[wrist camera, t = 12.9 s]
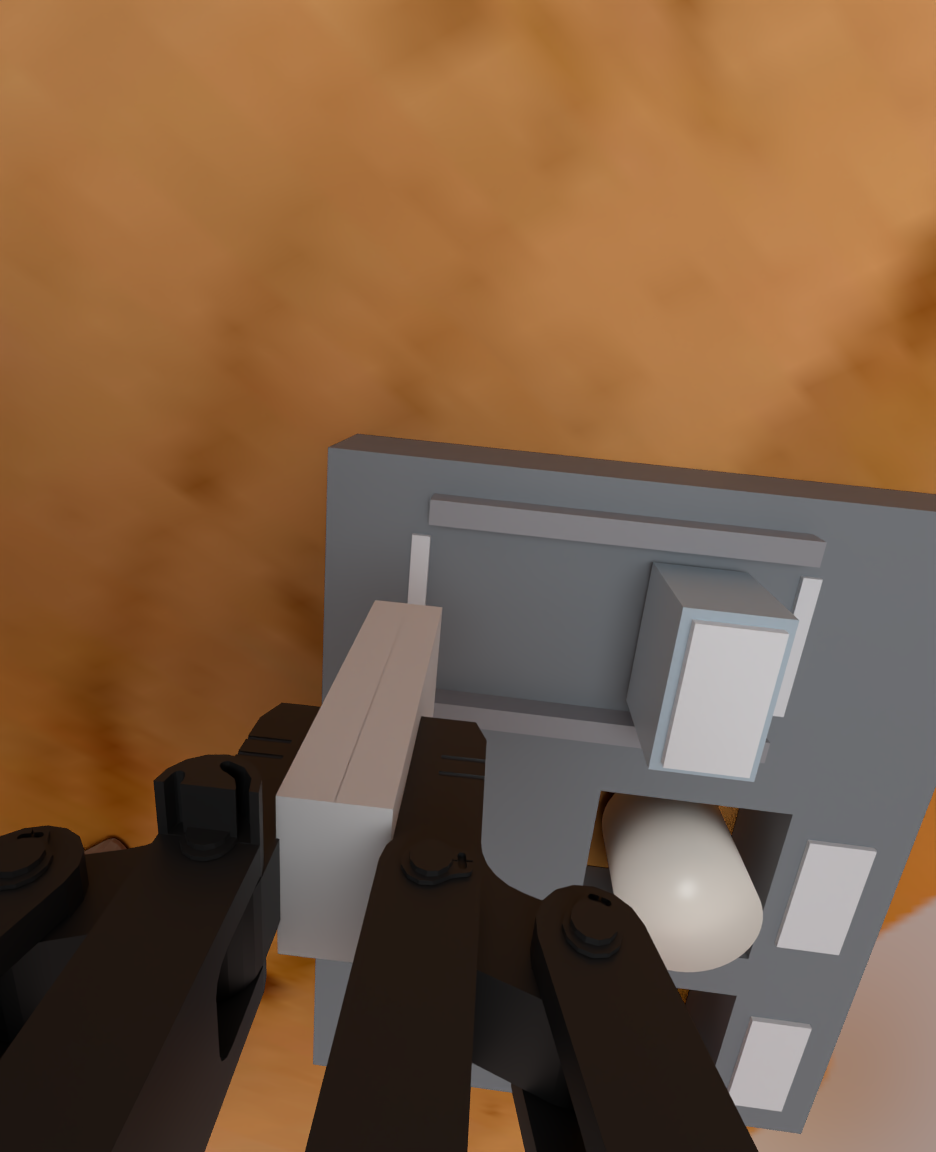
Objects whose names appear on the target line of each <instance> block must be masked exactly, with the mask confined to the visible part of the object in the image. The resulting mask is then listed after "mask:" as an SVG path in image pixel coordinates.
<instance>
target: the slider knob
mask: <svg viewBox="0 0 936 1152" xmlns="http://www.w3.org/2000/svg"><path fill="white" fill-rule="evenodd" d="M798 624H799V620H798V619H797V618H796V617H795V616H794V615H793V614H792V613H791V612H790V611H789V610H788V609H787V608H785V607H784V606H783V605H782V604H781V603H780V602H779V601H778V600H777V599H776V598H775V597H774V596H773V595H771V594H770V593H769V592H768V591H767V590H766V589H765V588H764V587H763V586H762V585H761V584H760V583H758V582H757V581H756V580H755V579H754V578H753V577H752V576H751V575H750V574H749V573H747V572H738V571H729V570H720V569H711V568H702V567H693V566H684V565H675V564H666V563H656V562H653V565H652V570H651V575H650V580H649V585H648V591H647V596H646V601H645V606H644V611H643V616H642V621H641V626H640V632H639V637H638V642H637V647H636V652H635V657H634V662H633V667H632V673H631V678H630V683H629V688H628V693H627V698H626V701H627V704H628V707H629V710H630V713H631V716H632V720H633V723H634V726H635V729H636V732H637V735H638V738H639V741H640V745H641V748H642V751H643V754H644V757H645V760H646V763H647V767H648V769H651V770H660V771H668V772H676V773H684V774H692V775H700V776H708V777H717V778H725V779H733V780H741V781H749V782H754V781H755V777H756V774H757V770H758V767H759V763H760V759H761V756H762V752H763V749H764V745H765V742H766V738H767V734H768V731H769V727H770V724H771V720H772V717H773V713H774V709H775V706H776V702H777V699H778V695H779V691H780V688H781V684H782V681H783V677H784V674H785V670H786V666H787V663H788V659H789V656H790V652H791V649H792V645H793V641H794V638H795V634H796V631H797V627H798Z"/></svg>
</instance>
